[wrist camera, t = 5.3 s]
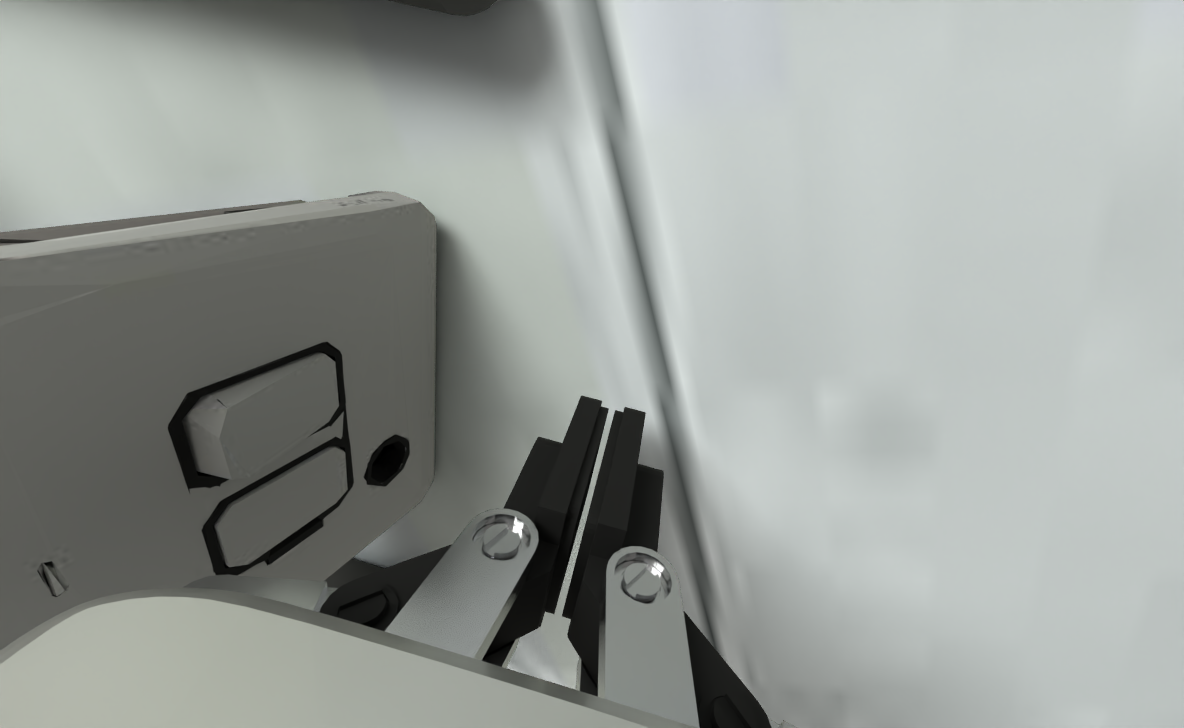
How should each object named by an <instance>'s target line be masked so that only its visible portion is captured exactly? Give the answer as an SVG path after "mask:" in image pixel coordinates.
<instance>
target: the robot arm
mask: <svg viewBox="0 0 1184 728" xmlns="http://www.w3.org/2000/svg"><path fill="white" fill-rule="evenodd" d="M601 404H602V401H600V400H597V399H593V398H589V397H585V396H581V398H580V400H579V403H578V405H577V408H576V410H575V413H574V415H573V418H572V420H571V423H570V426H569V428H568V431H567V433H566V436H565V438H564V441H563V443H560V442H556V441H552V440H549V439H545V438H541V437H538V438H537V440H536V442H535V444H534V446H533V448H532V450H531V452H530V454H529V456H528V458H527V460H526V462H525V465H524V467H523V469H522V471H521V473H520V475H519V477H518V479H517V481H516V483H515V486H514V488H513V490H512V492H511V494H510V496H509V498H508V500H507V502H506V504H505V506H504V509H499V508H497V509H492V510H487V511H485V512H483V513H481V514H479V515H477V516H476V517H475V518H474V519H473V520H472V521H471V522H470V523H469V524H468V525H467V526H466V528H465V529H464V530H463V532H462V533H461V534H460V535H459V537H458V538H457V539H456V541H455V542H454V543H453V544H452V545H449V546H446V547H443V548H441V549H438V550H435V551H432V552H430V553H427V554H424V555H421V556H418V557H416V558H413V559H410V560H407V561H405V562H402V563H399V564H396V565H393V566H391V567H388V568H385V569H382V570H380V571H377V572H374V573H371V574H368V575H366V576H363V577H360V578H357V579H355V580H352V581H350V582H348V583H346V584H344V585H342V586H341V587H339V588H330V587H327V582H326V581H311V580H297V579H282V578H267V577H252V576H237V575H214V576H207V577H204V578H201V579H198V580H195V581H193V582H191V583H189V584H188V585H186V586H184V587H183V588H161V589H147V590H137V591H131V592H124V593H119V594H114V595H109V596H105V597H100V598H97V599H94V600H91V601H88V602H85V603H82V604H79V605H77V606H75V607H73V608H71V609H68V610H66V611H64V612H62V613H60V614H58V615H56V616H54V617H52V618H51V619H49V620H47V621H45V622H43V623H42V624H40V625H38V626H37V627H35V628H33V629H32V630H30V631H29V632H27V633H25V634H24V635H22V636H21V637H19V638H18V639H16V640H15V641H13V642H12V643H10V644H9V645H7V646H6V647H5V648H3V649H2V650H0V728H797V727H795V726H793V725H792V724H790V723H788V722H786V721H784V720H783V722H782V723H781V725H779V724H777V723H776V722H774V721H772V720H770V719H768V717H767V715H766V713H765V712H764V710H763V709H762V707H761V705H760V704H759V702H758V701H757V700H756V699H755V697H754V696H753V695H752V694H751V692H750V691H749V690H748V689H747V688H746V686H745V685H744V684H743V683H742V681H741V680H740V679H739V678H738V677H737V675H736V674H735V673H734V672H733V670H732V669H731V668H730V667H729V666H728V664H727V663H726V662H725V661H724V659H723V658H722V657H721V656H720V655H719V653H718V652H717V651H716V650H715V648H714V647H713V646H712V645H711V644H710V642H709V641H708V640H707V639H706V637H705V636H704V635H703V634H702V633H701V631H700V630H699V629H698V628H697V626H696V625H695V624H694V623H693V622H692V620H691V619H690V618H689V617H688V615H687V614H686V613H685V612H684V611H683V603H682V596H681V589H680V582H679V579H678V576H677V572H676V571H675V569H674V568H673V566H672V565H671V563H670V562H669V561H668V560H667V559H665V558H664V557H663V556H662V555H661V554H659V553H657V549H658V537H659V525H660V513H661V501H662V490H663V478H664V472H663V471H662V470H659V469H655V468H651V467H648V466H644V465H640V464H638V458H639V451H640V445H641V439H642V433H643V426H644V420H645V414H646V413H645V412H642V411H638V410H634V409H631V408H627V407H625V408H624V412H620V411H616V410H615V414H614V417H613V421H612V425H611V429H610V433H609V436H608V440H607V444H606V448H605V452H604V456H603V459H602V463H601V467H600V471H599V475H598V478H597V482H596V486H595V490H594V494H593V498H592V501H591V505H590V509H589V513H588V517H587V521H586V524H585V528H584V532H583V536H582V540H581V544H580V548H579V552H578V555H577V559H576V563H575V567H574V571H573V575H572V579H571V583H570V587H569V590H568V594H567V598H566V602H565V606H564V610H563V614H562V617H566V618H569V619H571V622H570V626H569V630H568V634H567V635H568V638H569V640H570V642H571V643H572V645H573V647H574V648H575V650H576V651H577V653H578V655H579V660H578V665H577V676H576V690H575V689H571V688H568V687H565V686H562V685H558V684H555V683H552V682H549V681H545V680H542V679H539V678H536V677H532V676H529V675H526V674H523V673H519V672H516V671H513V670H510V669H506V668H507V666H508V664H509V662H510V660H511V658H512V656H513V654H514V652H515V650H516V648H517V645H518V641H519V638H520V637H522V636H524V635H526V634H528V633H529V632H531V631H533V630H535V629H537V628H538V627H540V626H541V623H542V620H543V616H544V613H545V611H546V612H549V613H552V614H554V613H555V609H556V605H557V602H558V598H559V595H560V591H561V587H562V584H563V580H564V577H565V573H566V569H567V566H568V562H569V559H570V555H571V551H572V548H573V544H574V541H575V537H576V533H577V530H578V526H579V523H580V519H581V515H582V512H583V508H584V505H585V501H586V497H587V493H588V490H589V486H590V482H591V478H592V474H593V470H594V466H595V462H596V458H597V454H598V450H599V446H600V442H601V438H602V434H603V430H604V426H605V422H606V418H607V414H608V409H609V408H605V407H601Z"/></svg>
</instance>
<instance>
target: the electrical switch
mask: <svg viewBox="0 0 1184 728" xmlns="http://www.w3.org/2000/svg"><path fill="white" fill-rule="evenodd" d="M436 232H437V225H436V221H435V217H434V215H433V214H432V213H431V212H430V211H429V210H428V209H427V208H426V207H425V206H424V205H423V204H422V203H421V202H419V201H416V200H414V199H411V198H408V197H406V196H403V195H401V194H398V193H395V192H383V191H372V192H367V193H361V194H355V195H349V196H348V197H345V198H337V199H328V200H320V201H313V202H305V201H302V200H297V201H288V202H278V203H269V204H260V205H251V206H241V207H232V208H223V209H213V210H204V211H195V212H186V213H176V214H167V215H158V216H149V217H139V218H130V219H121V220H112V221H102V222H93V223H84V224H75V225H65V226H56V227H47V228H38V229H28V230H19V231H10V232H1V233H0V650H2V649H3V648H5V647H6V646H7V645H9V644H10V643H12V642H13V641H15V640H16V639H18V638H19V637H21V636H22V635H24V634H25V633H27V632H29V631H30V630H32V629H33V628H35V627H37V626H38V625H40V624H42V623H43V622H45V621H47V620H49V619H51V618H52V617H54V616H56V615H58V614H60V613H62V612H64V611H66V610H68V609H71V608H73V607H75V606H77V605H79V604H82V603H85V602H88V601H91V600H94V599H97V598H100V597H105V596H109V595H114V594H119V593H124V592H131V591H137V590H147V589H161V588H183V587H184V586H186V585H188V584H189V583H191V582H193V581H195V580H198V579H201V578H204V577H207V576H214V575H237V576H252V577H267V578H282V579H297V580H311V581H324V580H326V579H327V578H328V577H329V576H331V575H332V574H333V573H334V572H336V571H337V570H338V569H339V568H340V567H342V566H343V565H344V564H345V563H347V562H348V561H349V560H350V559H351V558H353V557H354V556H355V555H356V554H358V553H359V552H360V551H361V550H362V549H364V548H365V547H366V546H367V545H369V544H370V543H371V542H372V541H373V540H375V539H376V538H377V537H378V536H380V535H381V534H382V533H383V532H385V531H386V530H387V529H388V528H389V527H391V526H392V525H393V524H394V523H396V522H397V521H398V520H399V519H400V518H402V517H403V516H404V515H405V514H407V513H408V512H409V511H410V510H411V509H413V508H414V507H415V506H416V505H418V504H419V503H420V502H421V501H422V499H423V498H424V496H425V494H426V492H427V491H428V489H429V487H430V485H431V484H432V482H433V479H434V463H435V348H436Z"/></svg>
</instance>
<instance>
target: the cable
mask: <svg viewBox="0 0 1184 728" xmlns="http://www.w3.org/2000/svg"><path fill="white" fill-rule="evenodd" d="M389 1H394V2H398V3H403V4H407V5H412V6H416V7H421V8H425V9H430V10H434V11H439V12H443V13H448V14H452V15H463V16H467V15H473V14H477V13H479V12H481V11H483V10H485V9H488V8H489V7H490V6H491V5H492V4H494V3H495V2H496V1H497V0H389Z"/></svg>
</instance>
